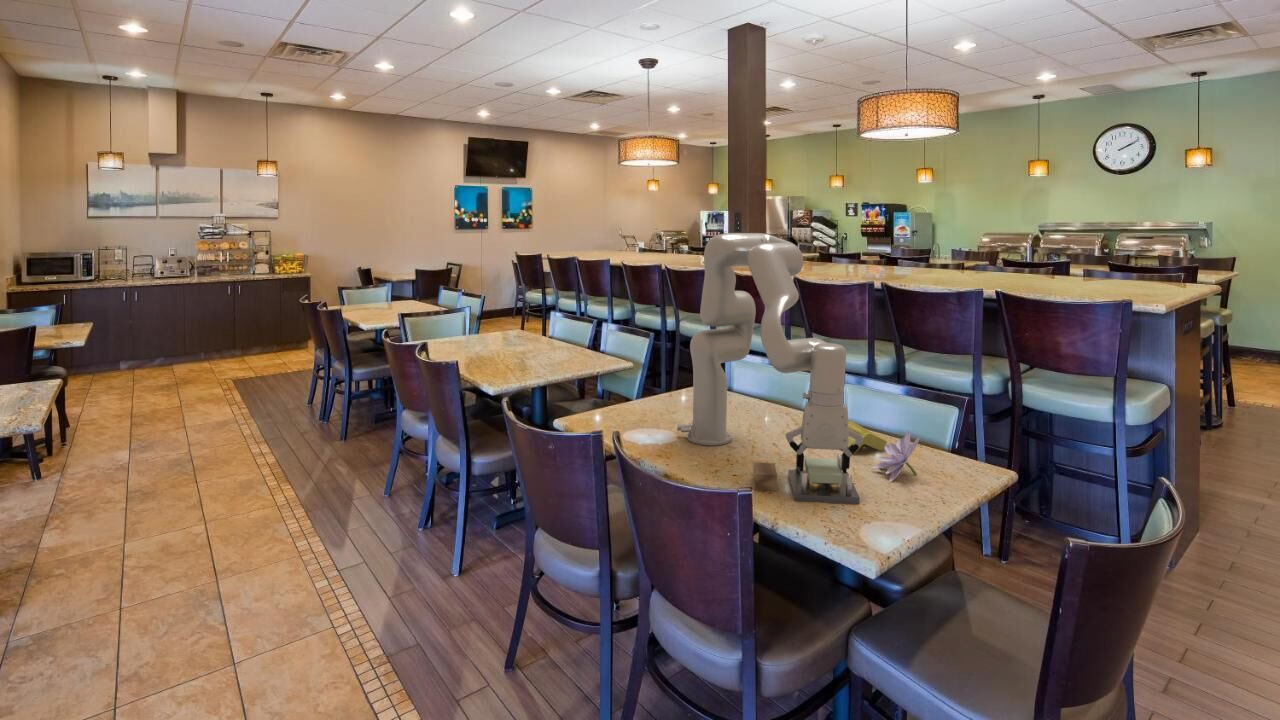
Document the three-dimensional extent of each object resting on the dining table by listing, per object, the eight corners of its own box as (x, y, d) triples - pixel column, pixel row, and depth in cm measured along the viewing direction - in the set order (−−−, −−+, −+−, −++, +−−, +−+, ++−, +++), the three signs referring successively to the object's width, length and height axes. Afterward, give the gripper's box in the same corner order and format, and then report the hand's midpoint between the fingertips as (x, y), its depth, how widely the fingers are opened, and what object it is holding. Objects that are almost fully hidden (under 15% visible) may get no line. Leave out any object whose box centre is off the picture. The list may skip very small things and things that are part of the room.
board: (809, 482, 153) (809, 473, 152) (804, 465, 163) (804, 457, 163) (841, 483, 152) (842, 475, 151) (834, 467, 163) (834, 459, 162)
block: (754, 490, 157) (755, 474, 157) (753, 478, 165) (753, 462, 164) (776, 491, 157) (777, 475, 156) (774, 479, 164) (774, 463, 164)
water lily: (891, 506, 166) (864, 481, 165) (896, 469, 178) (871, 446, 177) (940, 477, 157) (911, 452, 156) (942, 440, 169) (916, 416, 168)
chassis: (794, 500, 151) (795, 475, 150) (788, 475, 167) (789, 451, 166) (859, 503, 150) (860, 477, 148) (847, 478, 165) (848, 454, 164)
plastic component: (891, 443, 185) (864, 431, 181) (878, 467, 185) (851, 455, 182) (848, 419, 203) (823, 407, 199) (836, 441, 204) (811, 429, 200)
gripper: (788, 401, 152) (785, 474, 155) (869, 403, 150) (864, 478, 153) (785, 393, 159) (782, 463, 162) (862, 395, 157) (858, 466, 160)
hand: (822, 470), depth 158 cm, fingers open, 9 cm apart
